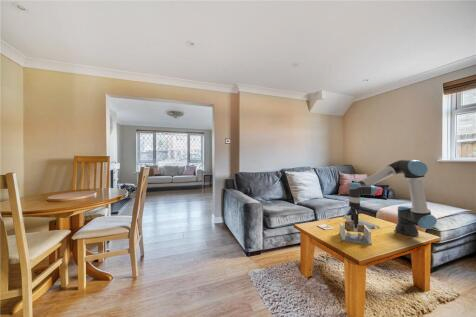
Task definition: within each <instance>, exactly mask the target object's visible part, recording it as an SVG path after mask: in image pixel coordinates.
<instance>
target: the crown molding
mask: <svg viewBox="0 0 476 317" xmlns="http://www.w3.org/2000/svg"><path fill="white" fill-rule="evenodd" d="M342 219H344V220H345V221H347V222H351V215H347V214H345V215H343V217H342ZM358 222H361V223H362V224H363V225H366V226H367V228H368V229H369V230H372V229H375V230H376V228H377V229H380V228H381V227H380V225H377V224H374V223H371V222H368V221H367V220H363V219H361V218H358Z"/></svg>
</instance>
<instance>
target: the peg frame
mask: <svg viewBox="0 0 476 317" xmlns="http://www.w3.org/2000/svg"><path fill="white" fill-rule="evenodd" d="M338 235H339V236H340V239H341V242H348V243H355V244H363V245H371V246H372V245H373V242H372V231H371V229H368V228H367V226H366V225H364V233H361V232H357V234H354V233H351V232H348V231H346V229H345V225H343V223H342V222H339V232H338Z"/></svg>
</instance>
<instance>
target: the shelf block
mask: <svg viewBox="0 0 476 317" xmlns="http://www.w3.org/2000/svg"><path fill="white" fill-rule="evenodd" d="M353 223H354V222H351V221H348V220H345V221H344V228H345V231H346V232H349V233H354V232H353ZM358 223H359V224H358V232H357V233H360V234H363V233H364V225H363V224H362V223H361V222H358Z"/></svg>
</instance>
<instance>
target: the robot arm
mask: <svg viewBox="0 0 476 317" xmlns="http://www.w3.org/2000/svg"><path fill="white" fill-rule="evenodd" d="M427 172H428V165H427V163H425V162H424V161H421V160H418V159H417V160H416V159H400V160H396V161H393V162H391V163H390V164H388V165H386V166H385V168H383V169H381V170H379V171H377V172H375V173H373V174H371V175H370V176H367V177H365V178H363V179H361V180H359V181H358V182H356V181H355V182H350V183H349V185H348V186H349V187H348V190H349V191H348V201H349V202H348V206H349V207H350V216H351V221H350V222H354V223H353V232H352V233H359V232H358V224H359V223H358V219H359V210H358V209H359V208H360V207H361V196H374V195H376V194H377V191H378V190H377V187H376V186H375V184H378V183H380V182H381V181H383V180H386V179H388V178H389V177H391V176H396V175H399V174H403V176H404V178H405V179H406V180H407V184H408V190H409V196H410V201H411V206H410V205H399V206H398V207H397V223H396V226H395V228H394V231H395V232H397V233H398V234H401V235H404V236H410V237H419V236H420V235H419V233H420V232H419V230H418V228H417V227H420V228H422V229H426V230H428V229H429V230H430V229H432V228H434V227H435V226H436V224H437V222H438V221H437V218H436V216H434V215H433V214H432V212H431V209H430V208H428V205H427V200H426V199H427V198H426V193H425V187H424V181H423V179H424V178H425V175H426V174H427Z"/></svg>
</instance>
